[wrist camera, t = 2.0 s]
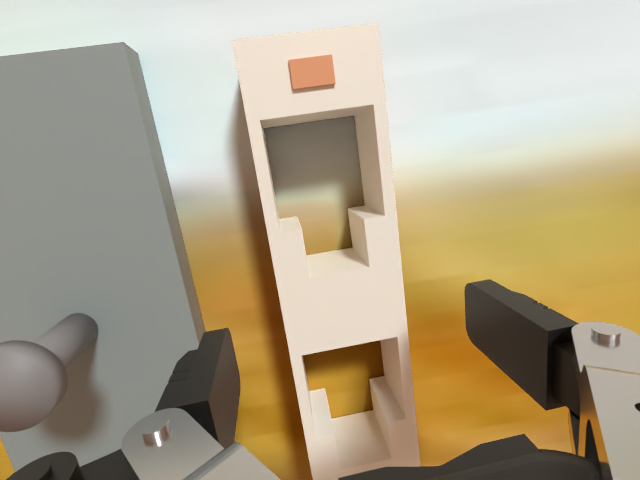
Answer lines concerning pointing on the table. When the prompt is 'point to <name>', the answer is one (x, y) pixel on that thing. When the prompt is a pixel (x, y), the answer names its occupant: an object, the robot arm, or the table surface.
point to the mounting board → (85, 255)
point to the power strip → (341, 265)
